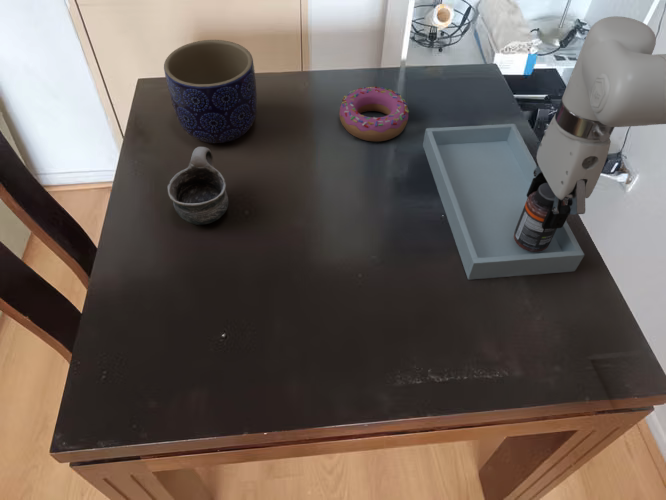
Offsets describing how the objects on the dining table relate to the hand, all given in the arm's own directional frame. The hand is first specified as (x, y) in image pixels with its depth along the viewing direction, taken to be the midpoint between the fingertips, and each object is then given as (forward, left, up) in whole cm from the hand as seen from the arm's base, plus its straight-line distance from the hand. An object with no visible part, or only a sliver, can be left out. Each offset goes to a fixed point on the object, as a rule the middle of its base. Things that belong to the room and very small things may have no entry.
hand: (543, 211), depth 85 cm
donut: (+41, -8, -9) cm, 43 cm away
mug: (+47, +32, -9) cm, 58 cm away
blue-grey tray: (+10, -5, -9) cm, 14 cm away
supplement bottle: (0, 0, -7) cm, 7 cm away
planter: (+63, +15, -9) cm, 65 cm away
